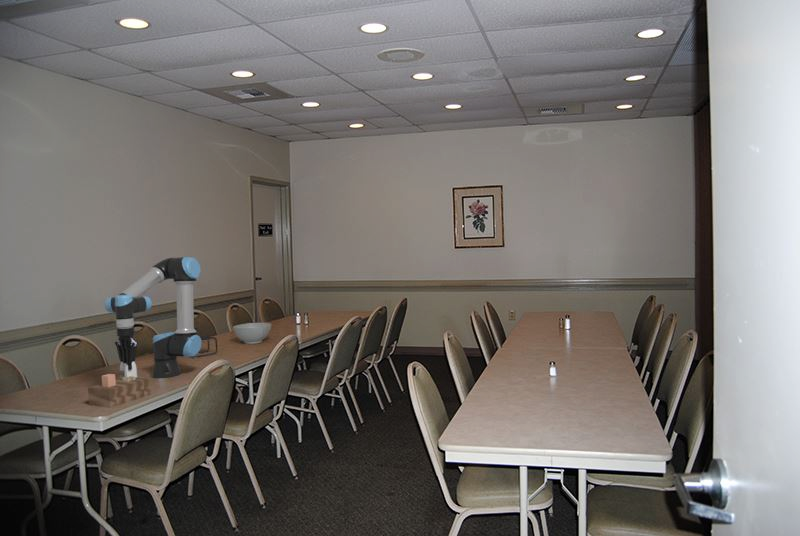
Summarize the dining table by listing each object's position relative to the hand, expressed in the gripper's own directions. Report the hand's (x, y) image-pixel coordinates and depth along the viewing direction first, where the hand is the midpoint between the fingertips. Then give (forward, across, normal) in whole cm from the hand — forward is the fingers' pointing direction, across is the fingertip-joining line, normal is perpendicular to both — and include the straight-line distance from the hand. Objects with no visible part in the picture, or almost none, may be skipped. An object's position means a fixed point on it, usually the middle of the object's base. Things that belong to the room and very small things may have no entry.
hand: (128, 376), depth 283 cm
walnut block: (+10, 0, -5) cm, 11 cm away
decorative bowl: (+9, -37, +138) cm, 143 cm away
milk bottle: (+10, -11, +10) cm, 18 cm away
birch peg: (+8, 0, 0) cm, 8 cm away
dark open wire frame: (+10, -41, +91) cm, 100 cm away
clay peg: (+5, 0, -11) cm, 12 cm away
